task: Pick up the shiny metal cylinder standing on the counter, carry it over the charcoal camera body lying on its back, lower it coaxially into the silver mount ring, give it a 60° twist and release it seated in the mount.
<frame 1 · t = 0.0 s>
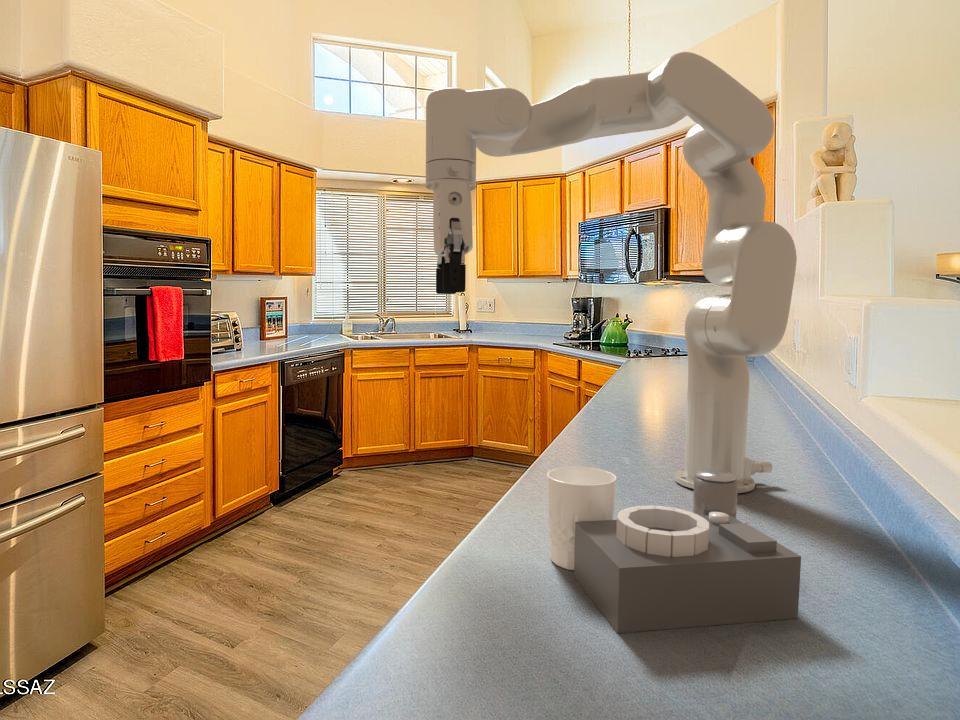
hand: (449, 293, 92), 31 cm above the worktop, fingers open, 9 cm apart
white cup: (579, 561, 70), on the worktop
shiny metal cylinder: (712, 545, 75), on the worktop
camera body: (677, 595, 62), on the worktop
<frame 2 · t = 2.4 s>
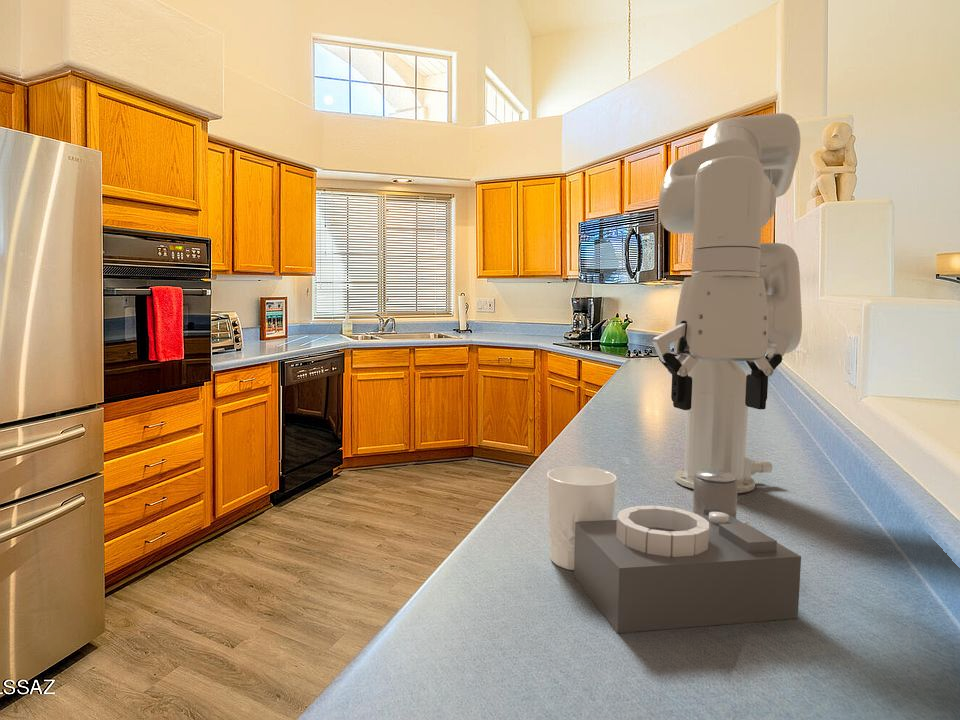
hand: (718, 408, 74), 17 cm above the worktop, fingers open, 9 cm apart
nothing on the worktop moved.
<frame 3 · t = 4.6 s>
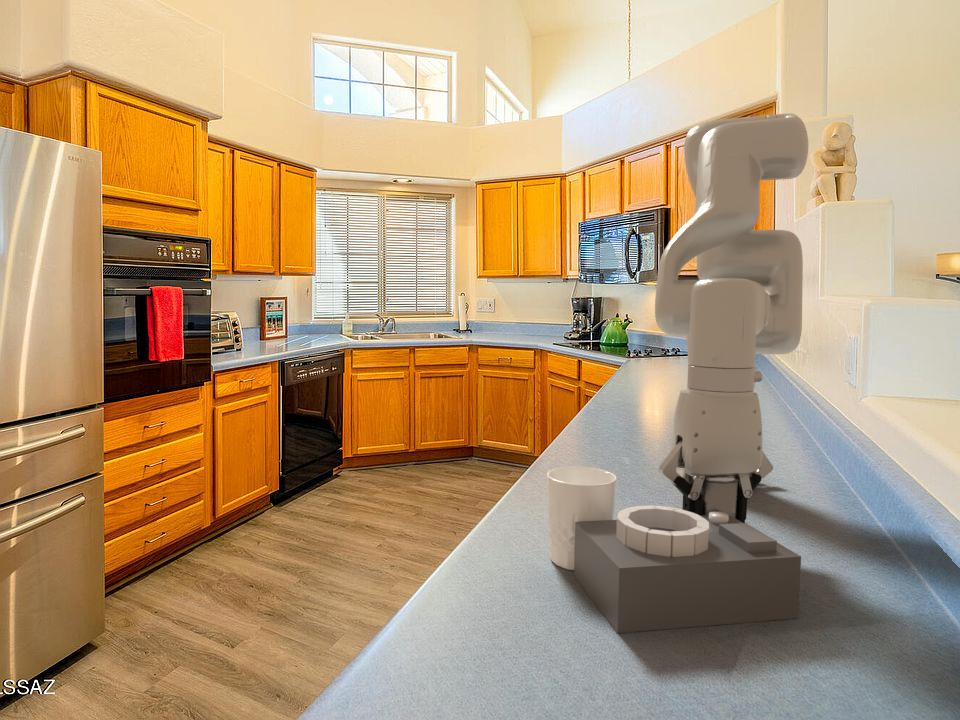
hand: (713, 525, 75), 2 cm above the worktop, fingers closed on shiny metal cylinder, 5 cm apart
shiny metal cylinder: (712, 545, 75), on the worktop, touching gripper
everything else where it was.
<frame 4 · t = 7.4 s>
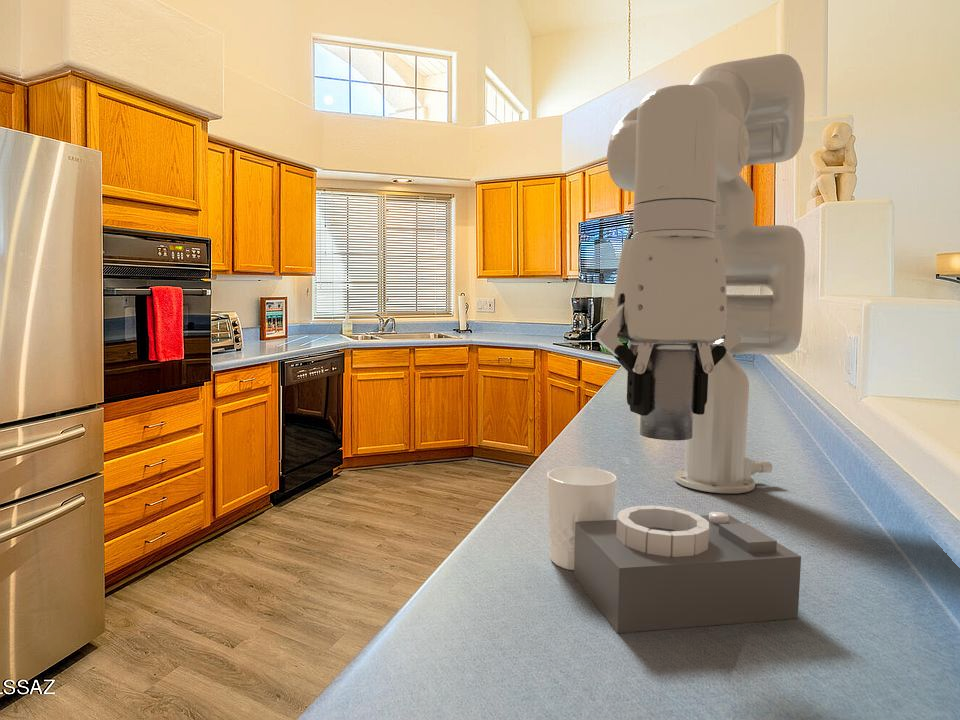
hand: (666, 410, 60), 19 cm above the worktop, fingers closed on shiny metal cylinder, 5 cm apart
shiny metal cylinder: (665, 435, 60), point 17 cm above the worktop, touching gripper
everything else where it was.
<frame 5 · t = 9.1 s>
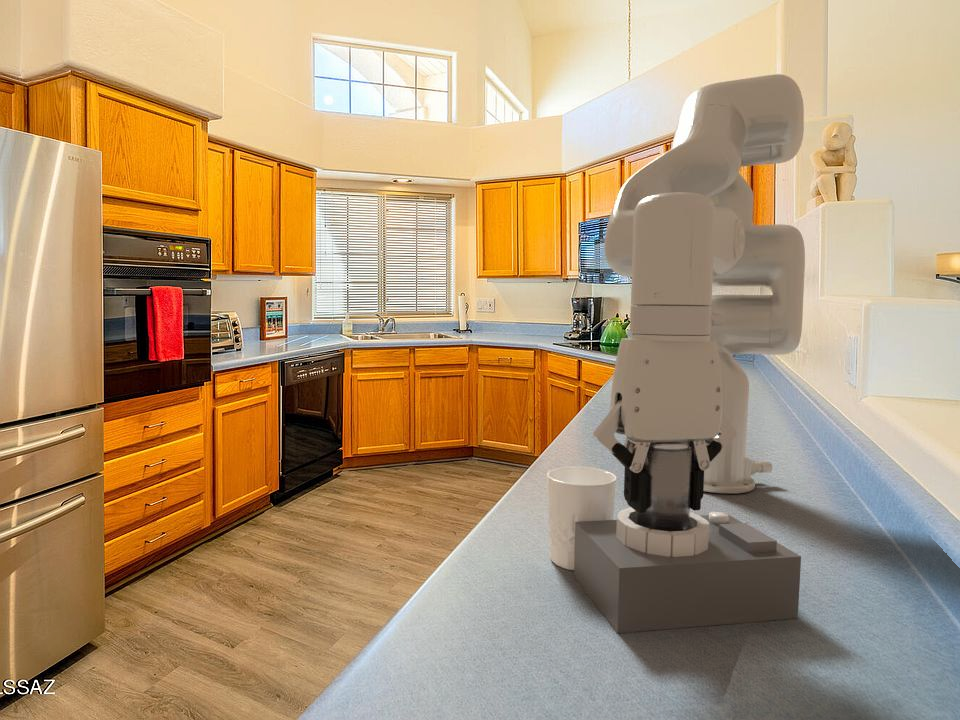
hand: (663, 505, 61), 9 cm above the worktop, fingers closed on shiny metal cylinder, 5 cm apart
shiny metal cylinder: (662, 529, 61), point 7 cm above the worktop, touching gripper
everything else where it was.
when the fingers open (9 cm above the worktop, at t = 10.5 s): shiny metal cylinder stays where it is, resting on camera body.
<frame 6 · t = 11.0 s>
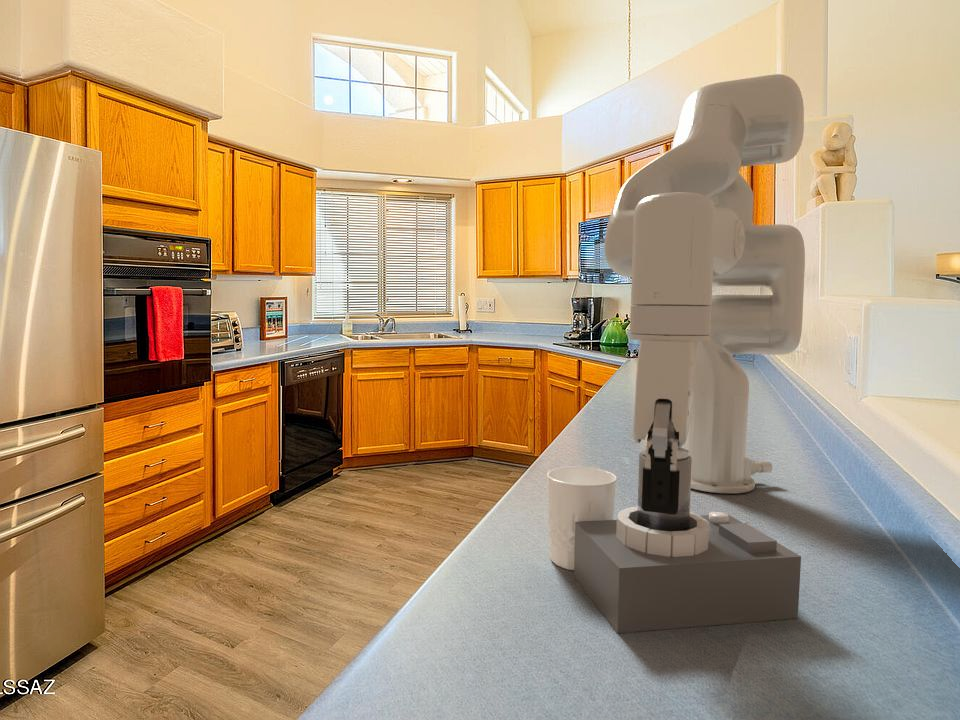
hand: (663, 497, 61), 10 cm above the worktop, fingers open, 9 cm apart
shiny metal cylinder: (662, 538, 61), point 6 cm above the worktop, touching camera body
everything else where it was.
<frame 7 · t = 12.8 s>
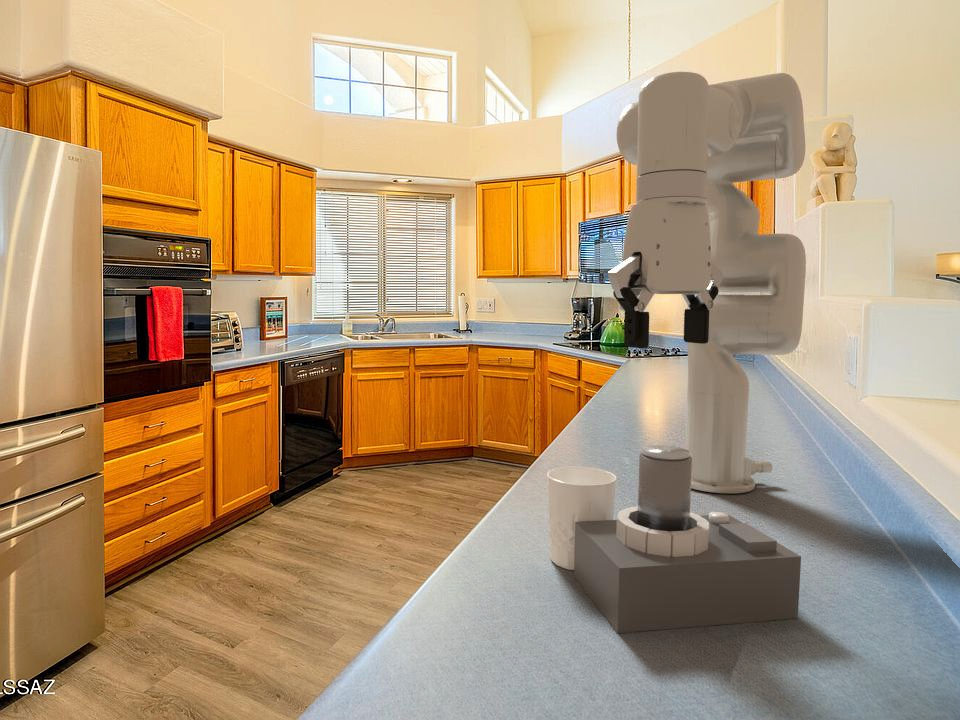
hand: (666, 344, 70), 25 cm above the worktop, fingers open, 9 cm apart
nothing on the worktop moved.
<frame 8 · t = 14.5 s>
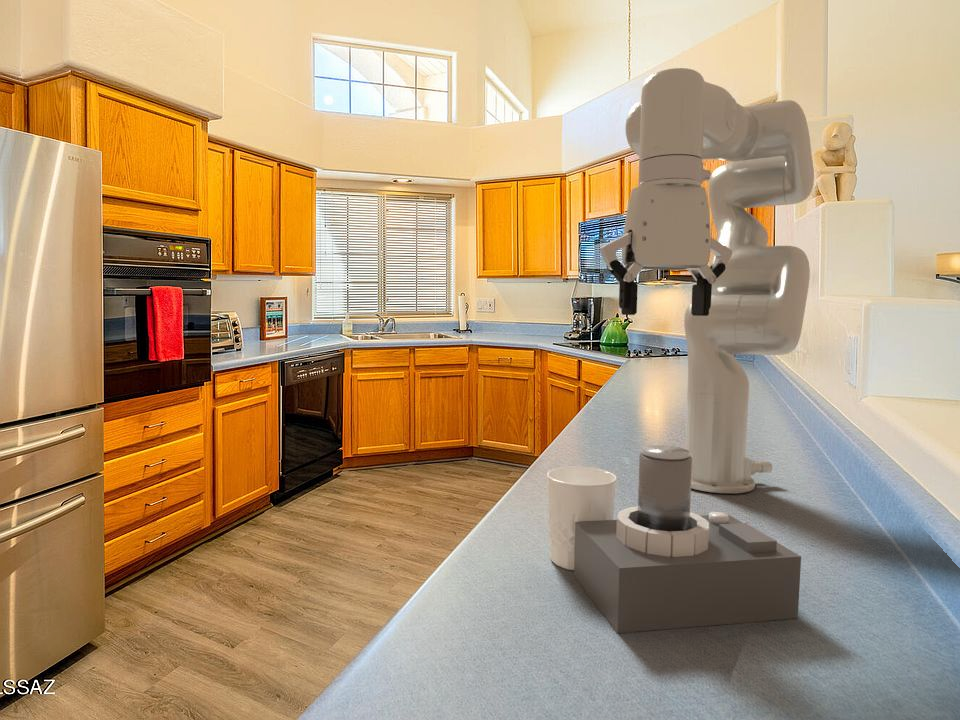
hand: (664, 315, 77), 28 cm above the worktop, fingers open, 9 cm apart
nothing on the worktop moved.
at the end: shiny metal cylinder 0.1 cm from the target spot on the camera body, point 6.0 cm above the camera body's base; shiny metal cylinder tilted 0°; the gripper is holding nothing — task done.
